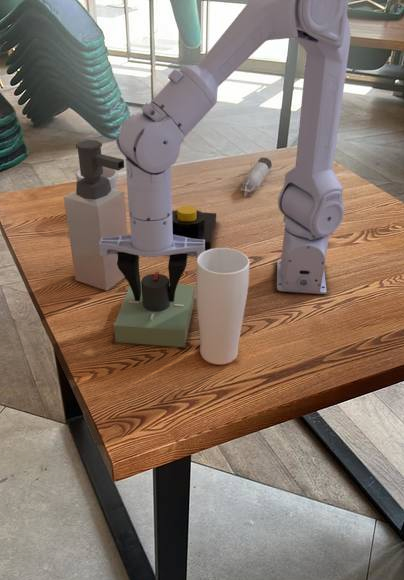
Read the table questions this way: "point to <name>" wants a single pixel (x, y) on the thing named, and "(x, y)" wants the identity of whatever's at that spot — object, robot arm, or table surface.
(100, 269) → the soap dispenser
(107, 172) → the cup
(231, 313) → the drinking glass
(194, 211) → the button
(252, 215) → the table surface
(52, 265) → the table surface
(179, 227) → the button block
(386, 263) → the table surface
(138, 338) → the dial panel
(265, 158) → the clear plastic bottle
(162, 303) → the dial
